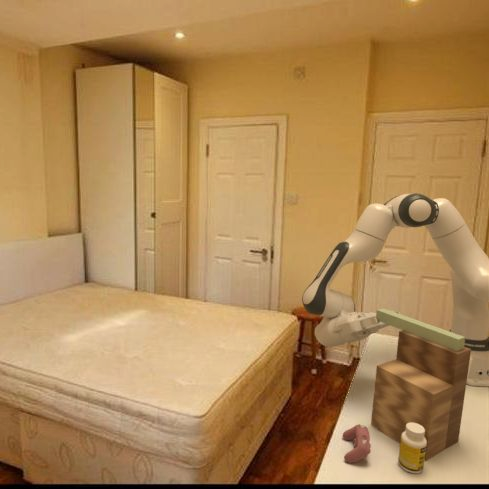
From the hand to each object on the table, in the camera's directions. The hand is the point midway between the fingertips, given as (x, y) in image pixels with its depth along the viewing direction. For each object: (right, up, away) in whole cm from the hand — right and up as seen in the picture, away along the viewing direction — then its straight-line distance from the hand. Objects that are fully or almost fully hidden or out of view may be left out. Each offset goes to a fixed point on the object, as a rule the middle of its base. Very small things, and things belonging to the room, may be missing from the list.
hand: (388, 317), depth 114 cm
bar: (+5, -3, -7) cm, 9 cm away
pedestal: (+3, -29, -9) cm, 30 cm away
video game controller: (-14, -30, -17) cm, 37 cm away
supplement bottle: (-3, -31, -21) cm, 37 cm away
